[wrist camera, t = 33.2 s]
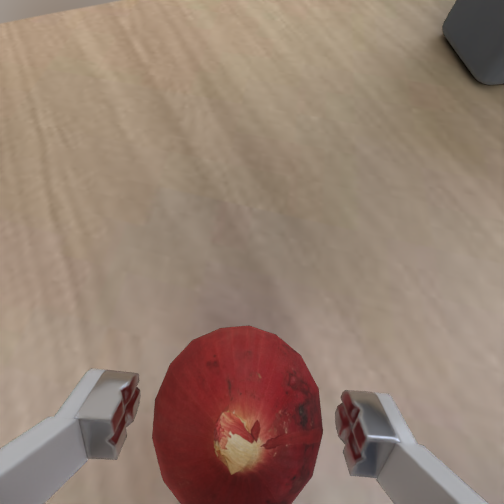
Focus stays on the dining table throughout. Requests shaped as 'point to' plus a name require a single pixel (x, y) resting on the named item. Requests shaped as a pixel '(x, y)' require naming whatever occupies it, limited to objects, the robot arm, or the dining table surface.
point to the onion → (237, 420)
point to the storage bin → (478, 37)
